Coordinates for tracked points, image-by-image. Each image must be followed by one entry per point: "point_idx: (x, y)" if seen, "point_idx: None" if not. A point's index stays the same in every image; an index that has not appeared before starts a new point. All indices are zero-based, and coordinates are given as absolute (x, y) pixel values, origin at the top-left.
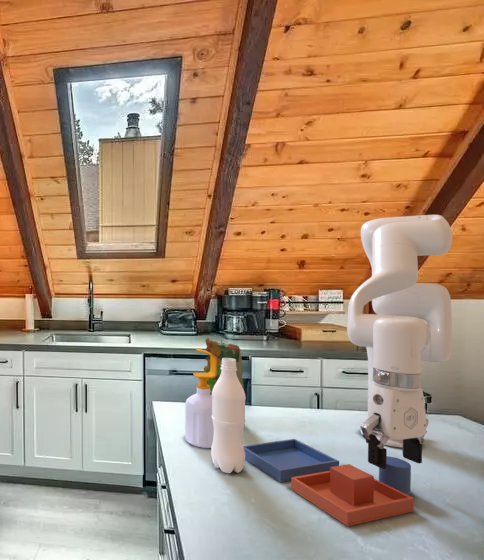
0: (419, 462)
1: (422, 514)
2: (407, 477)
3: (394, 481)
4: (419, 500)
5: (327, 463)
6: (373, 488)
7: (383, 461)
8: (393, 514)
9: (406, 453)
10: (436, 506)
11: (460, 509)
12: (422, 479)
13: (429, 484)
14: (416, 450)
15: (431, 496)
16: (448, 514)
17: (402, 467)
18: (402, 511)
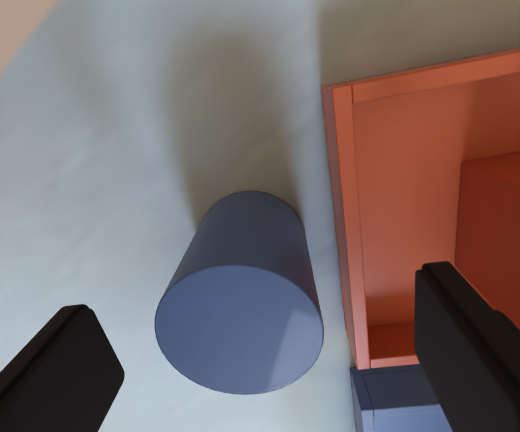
0: (80, 307)
1: (301, 60)
2: (232, 232)
3: (295, 237)
4: (207, 167)
5: (430, 402)
6: (511, 179)
7: (475, 302)
8: (469, 57)
9: (100, 391)
10: (171, 117)
11: (78, 83)
12: (61, 296)
13: (60, 265)
14: (35, 393)
15: (126, 189)
16: (172, 49)
17: (260, 270)
18: (406, 70)
